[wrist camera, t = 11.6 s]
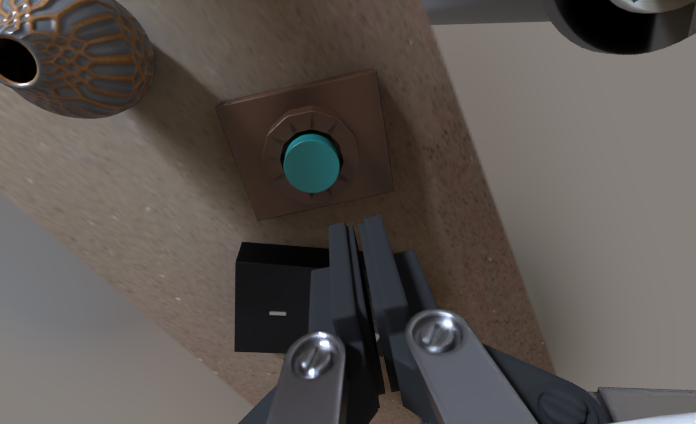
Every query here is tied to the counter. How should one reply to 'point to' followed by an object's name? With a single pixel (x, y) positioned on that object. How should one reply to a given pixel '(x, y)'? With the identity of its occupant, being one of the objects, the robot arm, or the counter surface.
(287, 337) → the black rectangular base
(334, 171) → the button
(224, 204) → the counter surface
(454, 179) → the counter surface
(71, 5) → the vase
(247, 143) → the brown square base
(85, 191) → the counter surface
